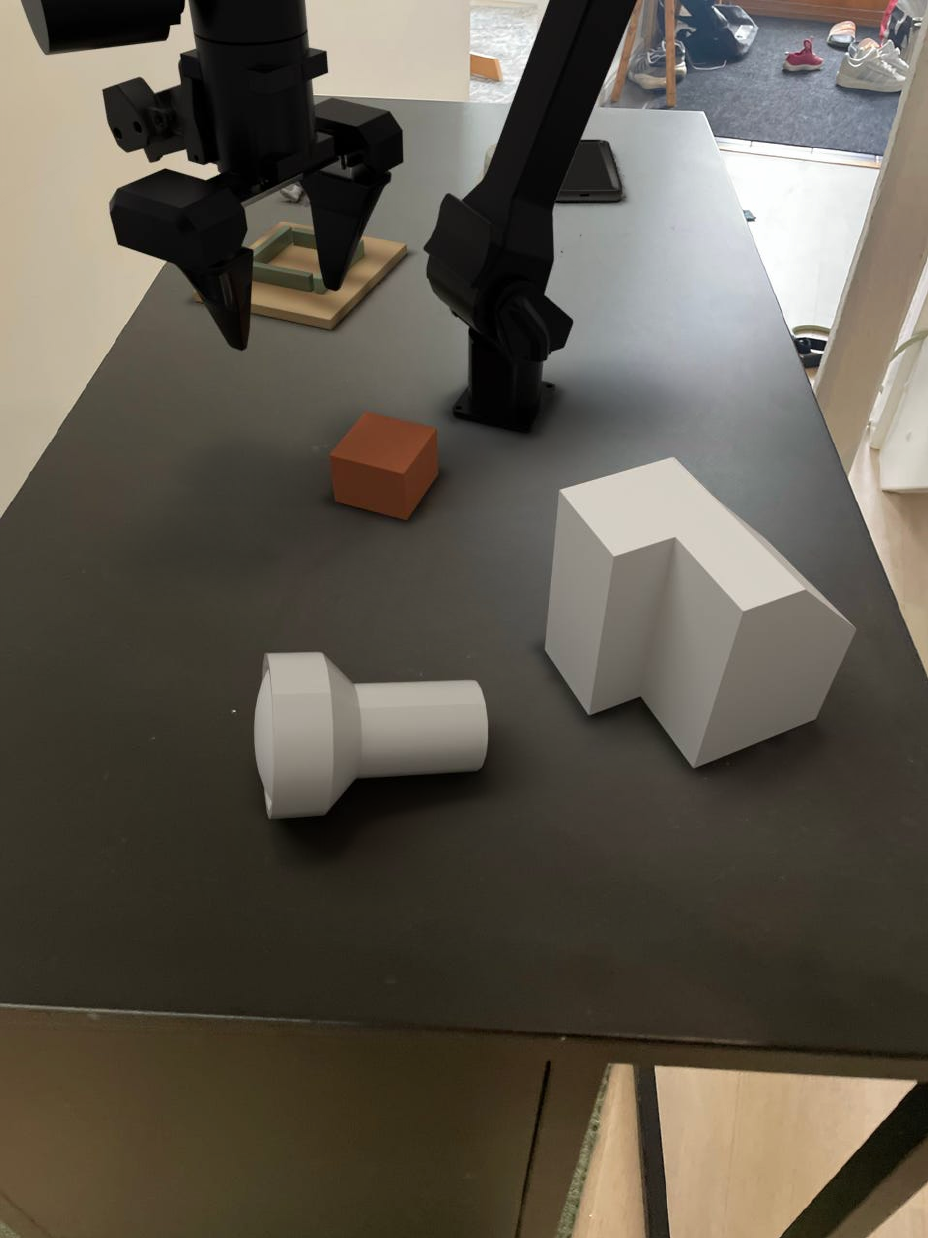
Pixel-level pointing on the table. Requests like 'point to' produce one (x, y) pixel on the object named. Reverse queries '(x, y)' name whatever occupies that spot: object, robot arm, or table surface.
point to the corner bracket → (685, 613)
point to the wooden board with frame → (312, 276)
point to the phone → (591, 174)
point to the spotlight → (356, 731)
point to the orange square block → (384, 465)
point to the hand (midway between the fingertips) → (287, 317)
